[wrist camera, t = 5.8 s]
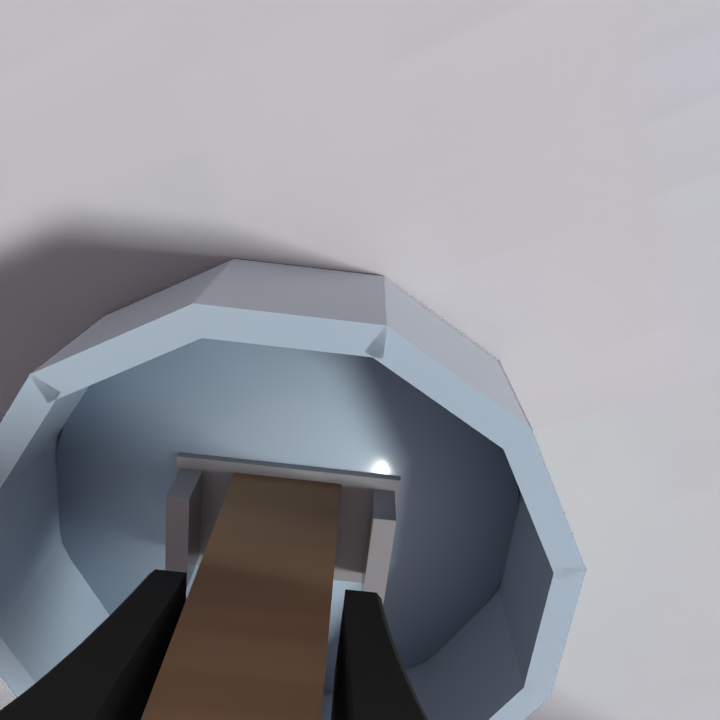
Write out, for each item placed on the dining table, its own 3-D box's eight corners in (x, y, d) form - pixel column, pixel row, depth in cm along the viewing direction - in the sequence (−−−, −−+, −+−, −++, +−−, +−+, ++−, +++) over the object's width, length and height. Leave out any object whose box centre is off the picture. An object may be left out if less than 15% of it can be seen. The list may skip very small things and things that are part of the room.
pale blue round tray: (486, 713, 19) (510, 839, 16) (54, 669, 19) (-14, 788, 16) (586, 299, 15) (647, 354, 12) (26, 234, 15) (-75, 271, 11)
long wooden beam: (331, 571, 17) (303, 875, 10) (229, 561, 17) (135, 858, 10) (341, 484, 16) (318, 754, 9) (234, 472, 16) (134, 736, 9)
